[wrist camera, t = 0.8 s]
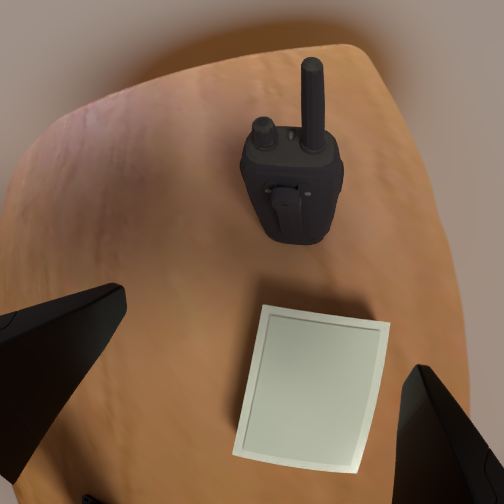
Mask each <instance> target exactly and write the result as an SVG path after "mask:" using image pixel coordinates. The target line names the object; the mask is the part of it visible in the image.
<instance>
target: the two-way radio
mask: <svg viewBox="0 0 504 504" xmlns="http://www.w3.org/2000/svg"><path fill="white" fill-rule="evenodd" d="M301 114H302V127H288V126H275V125H274V123H273V121H272V119H270V118H268V117H259V118H257V119H256V120H255V121H254V122H253V124H252V132H251V133H250V134H249V135H248V137H247V139H246V142H245V145H244V148H243V153H242V158H241V161H240V170H241V173H242V176H243V179H244V182H245V184H246V188H247V191H248V194H249V197H250V200H251V202H252V205H253V207H254V209H255V211H256V213H257V215H258V217H259V220H260V222H261V224H262V226H263V228H264V230H265V232H266V234H267V235H268V236H269V237H270V238H271V239H273V240H275V241H277V242H281V243H287V244H296V245H312V244H316V243H318V242H320V241H321V240H322V239H323V237H324V236H325V235H326V234H327V233H328V232H329V230H330V226H331V223H332V220H333V217H334V213H335V208H336V203H337V199H338V196H339V193H340V192H341V188H342V183H343V176H344V166H343V162H342V160H341V158H340V154H339V148H338V145H337V142H336V140H335V138H334V137H333V136H332V135H331V134H330V133H329V132H328V131H326V130H324V129H325V96H324V73H323V64H322V62H321V61H320V60H319V59H317V58H315V57H308V58H306V59H304V61H303V62H302V64H301Z"/></svg>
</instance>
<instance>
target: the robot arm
mask: <svg viewBox="0 0 504 504" xmlns="http://www.w3.org/2000/svg"><path fill="white" fill-rule="evenodd" d="M126 311H127V303H126V295H125V289H124V287H123V286H122V285H119V284H116V283H109V284H105V285H102V286H99V287H95V288H92V289H88V290H85V291H82V292H78V293H75V294H71V295H68V296H65V297H61V298H58V299H55V300H51V301H48V302H45V303H41V304H38V305H34V306H31V307H28V308H25V309H21V310H19V311H14V312H11V313H8V314H4V315H1V316H0V475H1V476H2V477H4V478H5V479H6V480H7V481H9V482H10V483H11V484H13V485H14V484H15V482H16V481H17V479H18V477H19V476H20V474H21V472H22V471H23V469H24V467H25V466H26V464H27V463H28V461H29V459H30V458H31V456H32V454H33V453H34V451H35V450H36V448H37V447H38V445H39V443H40V441H41V440H42V438H43V437H44V435H45V434H46V432H47V431H48V429H49V428H50V426H51V425H52V423H53V422H54V420H55V419H56V417H57V416H58V414H59V413H60V411H61V410H62V408H63V407H64V405H65V404H66V402H67V401H68V400H69V398H70V397H71V395H72V394H73V392H74V391H75V389H76V388H77V387H78V385H79V384H80V382H81V381H82V380H83V378H84V377H85V375H86V374H87V373H88V371H89V370H90V368H91V367H92V366H93V364H94V363H95V361H96V360H97V359H98V357H99V356H100V355H101V353H102V352H103V350H104V349H105V347H106V346H107V344H108V342H109V341H110V339H111V337H112V336H113V334H114V332H115V331H116V329H117V327H118V325H119V324H120V322H121V320H122V319H123V317H124V316H125V314H126ZM82 504H103V503H102V502H100V501H98V500H96V499H94V498H93V497H91V496H89V495H87V494H85V495H83V496H82ZM392 504H504V468H503V466H502V465H501V463H500V462H499V460H498V459H497V458H496V456H495V455H494V453H493V452H492V450H491V449H490V448H489V446H488V444H487V443H486V442H485V440H484V439H483V437H482V436H481V435H480V433H479V432H478V430H477V429H476V427H475V426H474V425H473V423H472V422H471V420H470V419H469V418H468V416H467V415H466V414H465V412H464V411H463V409H462V408H461V407H460V405H459V404H458V403H457V401H456V400H455V399H454V397H453V396H452V395H451V393H450V392H449V391H448V389H447V388H446V387H445V386H444V384H443V383H442V382H441V380H440V379H439V378H438V377H437V375H436V374H435V373H434V371H433V370H432V369H431V368H430V367H429V366H427V365H421V364H417V365H416V366H415V367H414V368H413V369H412V371H411V373H410V374H409V376H408V377H407V379H406V380H405V382H404V384H403V387H402V393H401V403H400V412H399V420H398V428H397V441H396V462H395V476H394V488H393V497H392Z"/></svg>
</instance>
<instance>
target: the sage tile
mask: <svg viewBox="0 0 504 504" xmlns="http://www.w3.org/2000/svg"><path fill="white" fill-rule="evenodd" d="M389 329H390V323H389V322H381V321H372V320H365V319H357V318H349V317H342V316H335V315H328V314H321V313H314V312H307V311H301V310H294V309H288V308H282V307H275V306H269V305H263V306H262V311H261V316H260V322H259V327H258V332H257V337H256V342H255V347H254V352H253V357H252V362H251V367H250V372H249V377H248V382H247V387H246V392H245V396H244V401H243V406H242V411H241V416H240V420H239V425H238V430H237V434H236V439H235V444H234V448H233V453H232V455H236V456H240V457H244V458H248V459H253V460H258V461H263V462H268V463H273V464H279V465H284V466H291V467H297V468H304V469H312V470H321V471H330V472H342V473H357V471H358V468H359V465H360V461H361V458H362V455H363V451H364V448H365V445H366V441H367V437H368V434H369V430H370V426H371V422H372V418H373V414H374V410H375V405H376V401H377V397H378V392H379V387H380V382H381V377H382V372H383V366H384V361H385V355H386V349H387V342H388V336H389Z"/></svg>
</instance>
